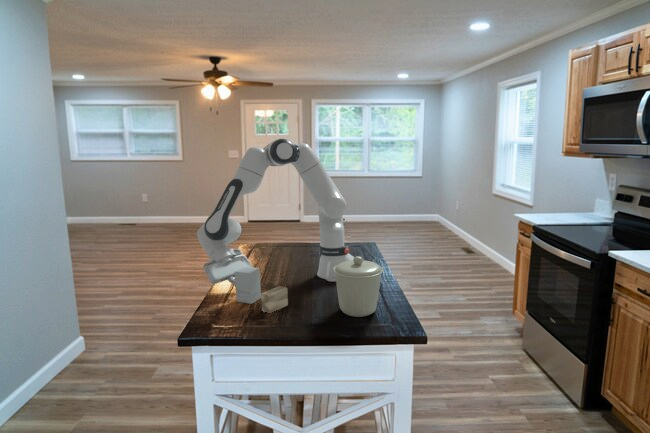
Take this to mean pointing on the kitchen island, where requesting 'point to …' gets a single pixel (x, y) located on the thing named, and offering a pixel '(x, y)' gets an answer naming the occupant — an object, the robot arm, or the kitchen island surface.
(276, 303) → the block
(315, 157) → the robot arm
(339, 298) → the canister
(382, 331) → the kitchen island surface
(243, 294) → the supplement box
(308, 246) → the kitchen island surface
